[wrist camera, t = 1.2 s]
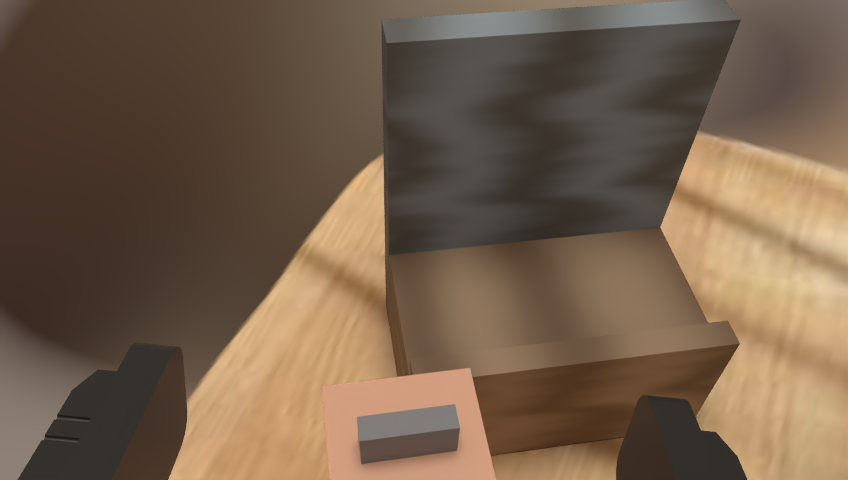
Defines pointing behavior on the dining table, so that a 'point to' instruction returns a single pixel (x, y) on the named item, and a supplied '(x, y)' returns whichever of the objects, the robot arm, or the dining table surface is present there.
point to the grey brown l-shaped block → (548, 210)
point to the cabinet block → (407, 429)
